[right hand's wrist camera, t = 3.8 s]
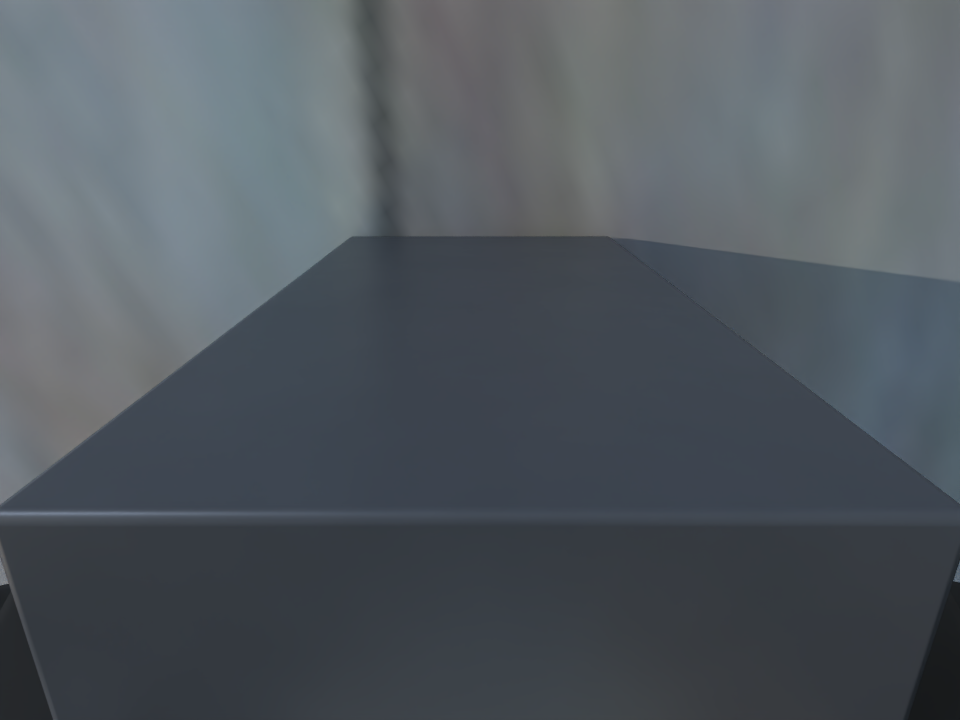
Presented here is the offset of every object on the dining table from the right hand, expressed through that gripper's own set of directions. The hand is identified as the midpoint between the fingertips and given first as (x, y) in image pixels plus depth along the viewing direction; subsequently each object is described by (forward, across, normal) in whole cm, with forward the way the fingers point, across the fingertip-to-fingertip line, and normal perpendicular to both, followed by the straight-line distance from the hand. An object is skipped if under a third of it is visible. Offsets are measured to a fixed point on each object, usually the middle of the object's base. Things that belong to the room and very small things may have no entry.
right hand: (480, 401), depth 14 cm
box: (+2, 0, -9) cm, 9 cm away
